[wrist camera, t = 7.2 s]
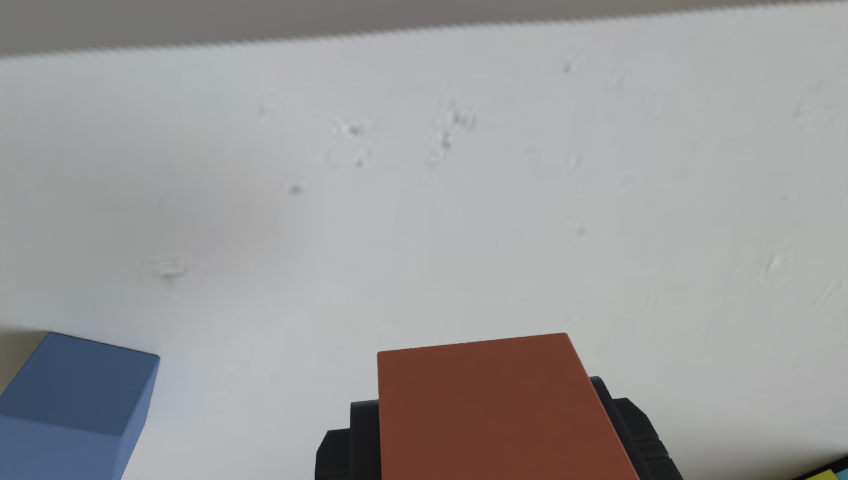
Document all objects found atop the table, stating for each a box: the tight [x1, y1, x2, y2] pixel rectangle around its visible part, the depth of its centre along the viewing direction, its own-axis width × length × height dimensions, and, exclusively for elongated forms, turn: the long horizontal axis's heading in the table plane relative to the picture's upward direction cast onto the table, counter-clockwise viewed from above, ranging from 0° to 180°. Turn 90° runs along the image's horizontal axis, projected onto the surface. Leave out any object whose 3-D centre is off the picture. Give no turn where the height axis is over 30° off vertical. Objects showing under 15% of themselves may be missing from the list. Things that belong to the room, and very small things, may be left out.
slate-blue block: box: [0, 333, 160, 480], centre depth 20 cm, size 4×4×4 cm
